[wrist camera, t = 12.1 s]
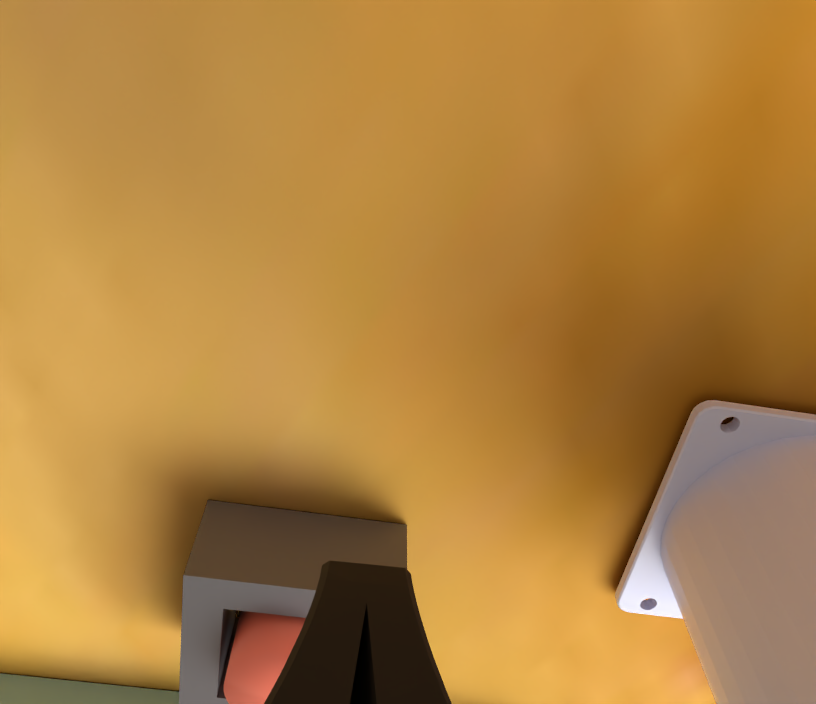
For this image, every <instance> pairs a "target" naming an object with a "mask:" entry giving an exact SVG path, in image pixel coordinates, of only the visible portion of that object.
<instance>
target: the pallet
mask: <svg viewBox="0 0 816 704" xmlns="http://www.w3.org/2000/svg"><path fill="white" fill-rule="evenodd" d="M0 704H179V692H177V691H167V690H157V689H148V688H138V687H128V686H118V685H109V684H99V683H89V682H79V681H70V680H60V679H50V678H40V677H31V676H21V675H11V674H1V673H0Z"/></svg>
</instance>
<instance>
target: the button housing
mask: <svg viewBox="0 0 816 704" xmlns="http://www.w3.org/2000/svg"><path fill="white" fill-rule="evenodd" d="M328 561H341V562H351V563H361V564H371V565H382V566H392V567H402V568H406V569H407V525H405V524H397V523H389V522H381V521H373V520H365V519H357V518H349V517H341V516H333V515H325V514H317V513H309V512H301V511H293V510H284V509H276V508H268V507H260V506H252V505H244V504H236V503H228V502H220V501H212V500H208V502H207V505H206V508H205V511H204V514H203V517H202V520H201V523H200V526H199V529H198V532H197V535H196V538H195V541H194V544H193V547H192V550H191V553H190V556H189V559H188V563H187V566H186V569H185V572H184V575H183V600H182V629H181V658H180V687H179V704H229V703H228V702H227V700H226V697H225V695H224V681H225V677H226V672H227V668H228V664H229V659H230V655H231V651H232V646H233V642H234V638H235V633H236V629H237V625H238V620H239V618H236V610H239V611H248V612H257V613H266V614H275V615H283V616H292V617H301V618H306V617H307V614H308V612H309V609H310V607H311V604H312V601H313V598H314V595H315V592H316V589H317V585H318V582H319V578H320V573H321V568H322V565H323V564H325V563H326V562H328Z"/></svg>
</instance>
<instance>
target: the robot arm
mask: <svg viewBox="0 0 816 704" xmlns="http://www.w3.org/2000/svg"><path fill="white" fill-rule="evenodd" d="M728 417H734V419H733V420H732V421H731V422H729V423H727V424H721V423H722V421H723V420H724V419H726V418H728ZM615 598H616V602H617V605H618V607H619V608H620V609H621V610H623V611H626V612H631V613H640V614H648V615H657V616H665V617H674V618H682V619H684V622H685V624H686V627H687V630H688V632H689V635H690V637H691V640H692V642H693V645H694V647H695V650H696V653H697V655H698V658H699V660H700V663H701V665H702V668H703V671H704V673H705V676H706V678H707V681H708V683H709V686H710V688H711V691H712V694H713V696H714V699H715V701H716V704H816V415H815V414H808V413H801V412H794V411H787V410H780V409H773V408H766V407H759V406H752V405H745V404H738V403H731V402H724V401H718V400H707V401H704V402H701V403H700V404H698V405H697V406H695V407H694V409H693V410H692V412H691V414H690V416H689V418H688V421H687V423H686V426H685V428H684V430H683V433H682V435H681V437H680V440H679V442H678V445H677V447H676V449H675V452H674V454H673V457H672V459H671V461H670V464H669V466H668V468H667V471H666V473H665V476H664V478H663V480H662V483H661V485H660V487H659V490H658V492H657V495H656V497H655V499H654V502H653V504H652V506H651V509H650V511H649V514H648V516H647V518H646V521H645V523H644V526H643V528H642V530H641V533H640V535H639V537H638V540H637V542H636V545H635V547H634V549H633V552H632V554H631V556H630V559H629V561H628V564H627V566H626V568H625V571H624V573H623V575H622V578H621V580H620V583H619V585H618V587H617V590H616V592H615ZM647 598H650V599H648V600H645V599H647ZM264 704H451V701H450V699H449V696H448V694H447V691H446V689H445V686H444V684H443V681H442V678H441V676H440V673H439V670H438V668H437V665H436V663H435V660H434V657H433V654H432V651H431V649H430V646H429V643H428V640H427V636H426V633H425V630H424V627H423V624H422V620H421V617H420V613H419V610H418V606H417V602H416V598H415V594H414V589H413V585H412V579H411V574H410V573H409V571H408V570H407V569H406V568H402V567H392V566H382V565H371V564H361V563H351V562H341V561H328V562H326V563H325V564H323V565H322V568H321V573H320V578H319V582H318V585H317V589H316V592H315V595H314V598H313V601H312V604H311V607H310V609H309V612H308V614H307V617H306V619H305V622H304V624H303V627H302V629H301V631H300V634H299V636H298V638H297V640H296V642H295V644H294V646H293V648H292V650H291V653H290V655H289V657H288V659H287V661H286V663H285V665H284V667H283V669H282V671H281V673H280V675H279V677H278V679H277V681H276V683H275V685H274V686H273V688H272V690H271V692H270V694H269V695H268V697H267V699H266V701H265V703H264Z"/></svg>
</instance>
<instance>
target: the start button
mask: <svg viewBox="0 0 816 704" xmlns="http://www.w3.org/2000/svg"><path fill="white" fill-rule="evenodd" d="M305 619H306V618H301V617H292V616H283V615H275V614H266V613H257V612H248V611H241V612H240V616H239V620H238V625H237V629H236V633H235V638H234V642H233V646H232V651H231V655H230V659H229V664H228V668H227V672H226V677H225V681H224V695H225V697H226V700H227V702H228V703H229V704H264V703H265V701H266V699H267V697H268V695H269V694H270V692H271V690H272V688H273V686H274V685H275V683H276V681H277V679H278V677H279V675H280V673H281V671H282V669H283V667H284V665H285V663H286V661H287V659H288V657H289V655H290V653H291V650H292V648H293V646H294V644H295V642H296V640H297V638H298V636H299V634H300V631H301V629H302V627H303V624H304V622H305Z"/></svg>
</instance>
